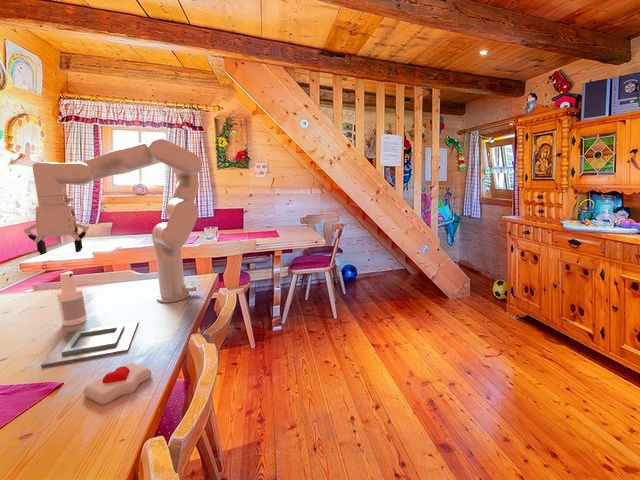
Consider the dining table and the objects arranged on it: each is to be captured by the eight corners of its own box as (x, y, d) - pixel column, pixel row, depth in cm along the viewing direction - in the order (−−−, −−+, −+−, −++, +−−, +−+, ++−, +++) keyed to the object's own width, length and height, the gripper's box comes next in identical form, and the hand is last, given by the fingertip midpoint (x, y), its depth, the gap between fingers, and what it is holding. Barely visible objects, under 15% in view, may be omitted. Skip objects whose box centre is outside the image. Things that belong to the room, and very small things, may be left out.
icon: (105, 393, 68) (79, 380, 72) (108, 411, 69) (82, 397, 73) (156, 363, 79) (130, 354, 83) (158, 379, 80) (133, 369, 84)
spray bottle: (73, 327, 108) (64, 276, 104) (57, 325, 109) (48, 275, 106) (91, 318, 114) (83, 270, 111) (76, 317, 116) (67, 269, 112)
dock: (138, 323, 110) (137, 318, 110) (127, 351, 92) (126, 346, 91) (68, 334, 103) (67, 328, 103) (41, 367, 85) (40, 361, 84)
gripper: (88, 200, 110) (95, 248, 113) (25, 201, 104) (34, 252, 107) (81, 201, 103) (88, 252, 106) (13, 202, 97) (23, 257, 100)
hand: (61, 252), depth 107 cm, fingers open, 9 cm apart
